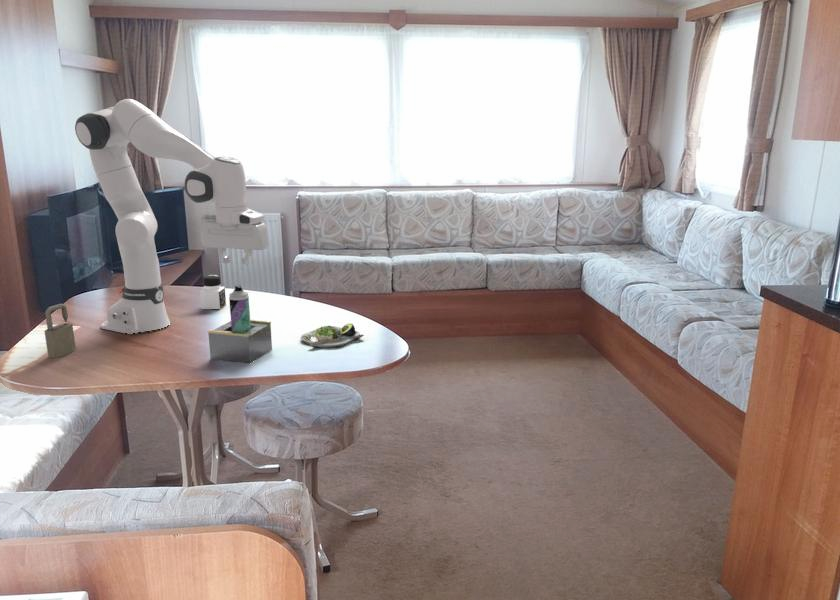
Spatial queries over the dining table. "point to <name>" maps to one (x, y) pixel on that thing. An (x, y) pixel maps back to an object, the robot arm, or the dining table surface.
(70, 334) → the padlock
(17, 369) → the dining table surface
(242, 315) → the spray can
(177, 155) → the robot arm
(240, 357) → the socket block
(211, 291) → the medicine bottle
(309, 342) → the salad plate
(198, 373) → the dining table surface
